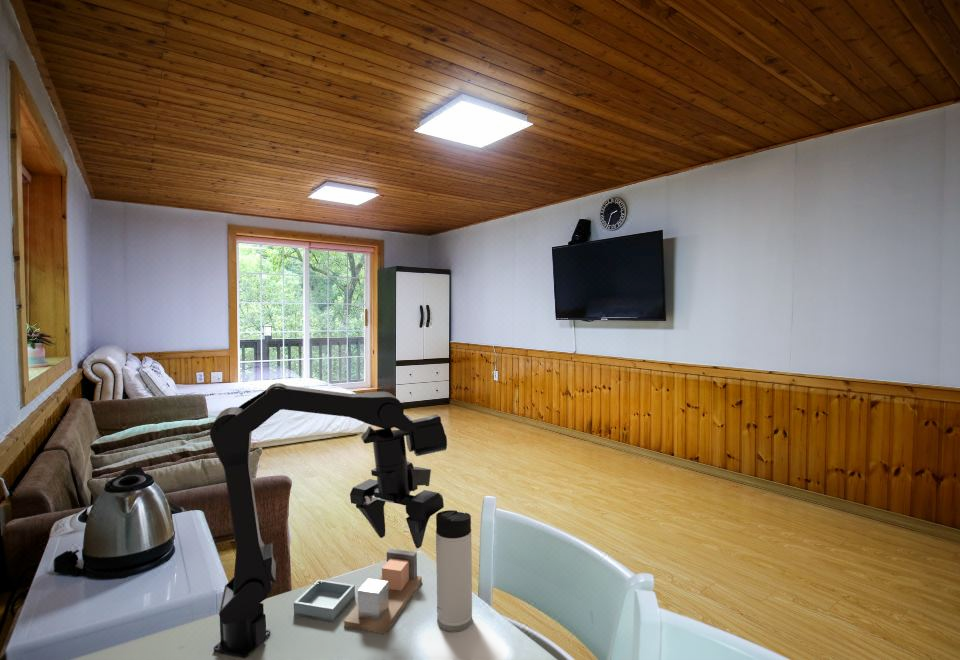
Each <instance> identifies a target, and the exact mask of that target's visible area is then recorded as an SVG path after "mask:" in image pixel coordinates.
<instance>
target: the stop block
mask: <svg viewBox="0 0 960 660" xmlns="http://www.w3.org/2000/svg"><path fill="white" fill-rule="evenodd" d="M381 576H382V580H383V581H388V589H393V590H400V591H401V590H402V589H403V587H404V586H405V585H406V583H407V582H408V581H409V561H408V560H400V559H392V558H390V559H389V561H388V562H387V561H386V563H384V565H383V566H382V568H381Z"/></svg>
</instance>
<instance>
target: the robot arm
mask: <svg viewBox="0 0 960 660" xmlns="http://www.w3.org/2000/svg"><path fill="white" fill-rule="evenodd" d="M282 410H285V411H291V412H292V411H293V412H303V413H311V414H317V415H318V414H319V415H328V416H338V417H346V418H350V419H354V420H357V421H360V422H362V423H364V424H367V425H369V426H368V427H367V429H366V430H365V432H364V433H363V434H362V435H361V436H360V438H361V440H362V443H364V444H369V443H372V446H373V453H374V463H375V465H374V466H375V467H374V468H373V469H371V470H370V471H371V472H370V473H371V476H373V477H376V480H375V479H371V478H369V479H367V480H366V481H363V482H361V483H359V484H357V485H355V486H353V487H352V488H351V491H350V493H349V496H350V497H349V499H350V503H351V504H354V505H355V507H356V509H358V510H359V511H360V512H361V513H362V515H363V516H364V518H365V519H366V520H367V522H368V523H369V524H370V526H371V527H372V528H373V529H374V532H375V533H376V534H377V536H378V537H379V538H380V539H383V538H384V537H385V536H386V519H385V504H386V503H391V504H398V505H402V506H405V513H406V514H407V516H408V517H406V518H405V520H406V523H407V526H408V531H409V532H410V535H411V539H412V541H413V544H414V547H415V549H418V550H419V549H420V548H421V547H422V546H423V541H424V537H425V533H426V529H427V525H428V523H429V519H430V518H431V516H433V515H435V514H437V512H438V513H439V512H440V511H441V510H442V509H444V508H445V505H444V497H443V495H442V494H441V493H440V492H436V491H431V490H427V489H423V490H422V491H421V492H418V493H417V494H415V495H413V494H412V495H411V492H414V491H416V490H418V487H419V486H426V487H430V481H431V473H432V469H430V468H424V467H419V466H414V464H413V463H412V462H410V461H407V460H408V458H407V451H406V450H408V451H409V453H412V452H413V453H414V455H415V456H416V457H419V456H425V455H429V454H430V455H431V454H434V453H439V452H443V451H444V452H445V451H446V450H447V446H448V439H447V434H446V433H445V429H444V426H443V423H442V419H441V416H440V415H439V414H433V415H430V416H429V415H428V416H427V417H424V418H423V417H422V418H418V419H412V418H411V417H410V416H409V415H408V414H404V410H405V409H404V406H403V404H402V403H401V401H400V400H399V399H398V398H397V397H396V396H395V395H394V394H393V393H390V392H388V391H365V392H359V393H345V392H338V391H331V390H324V389H315V388H309V387H300V386H293V385H286V384H285V383H281V382H279V383H277V382H276V383H273V384H271V385H270V386H268V387H267V388H266V389H265V390H263V391H262V392H260V393H258V394H257V395H255V396H253V397H252V398H250V399H248V400H247V401H245V402H244V403H242V404H241V405H239V406H231V407H228V408H225V409H224V410H221V411H220V413H218V415H217V416H216V418H215V420H213V423H212V425H211V426H210V431H209V437H210V441H211V444H212V446H213V450H214V451H215V455H216V456H217V458H218V461H219V462H220V465H221V466H222V468H223V470H224V475H225V476H224V477H225V482H226V483H225V485H226V491H227V496H228V504H229V513H230V516H231V517H230V519H231V525H232V531H233V539H234V544H235V559H234V560H235V561H234V562H235V563H234V570H233V571H234V572H233V573H234V574H233V577H232V578H231V579H230V580H228V582H227V583H226V584H225V586H224V589H223V594H222V597H221V601H220V602H221V604H220V608H219V613H218V616H219V634H220V635H219V637H220V638H219V639H220V641H219V642H218V643H217V644H215V646H214V647H213V652H216V653H220V654H226V655H230V656H235V657H241V658H246V657H248V656H249V655H250V654H251V653H252V652H254V650H255V649H257V648H258V646H260V644H262V643H263V642H264V641H265V640H266V638H267V637H269V636H270V635H271V632H272V631H271V629H268V628H267V619H266V613H264V611H265V610H264V601H266V599H267V598H268V597H269V595H270V593H271V591H272V583H275V582H276V573H277V571H276V569H277V568H276V567H277V562H276V560H275V558H274V555H273V550H274V549H273V548H274V543H273V542H271V543H268V544H265V543H264V541H263V540H262V537H261V533H260V525H259V518H258V510H257V505H256V498H255V489H254V482H253V476H252V468H251V462H250V459H251V458H250V457H251V447H252V432H253V431H255V430H257V429H258V428H259V427H261V426H262V425H263V424H264V423H265V422H267V420H269V419H270V418H271V417H273V416H274V415H275V414H277V413H278V412H279V411H282ZM370 425H371V426H370ZM372 426H374V427H377V429H374V428H373V427H372ZM393 428H395V429H394V430H392V429H393ZM405 439H406V440H405ZM406 445H407V448H406ZM262 602H263V603H262Z"/></svg>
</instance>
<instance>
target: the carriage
mask: <svg viewBox="0 0 960 660" xmlns="http://www.w3.org/2000/svg"><path fill="white" fill-rule="evenodd" d="M357 605H358V617H359V618H365V619H371V620H377V621H379V620H380V619H381V617H382V616H383V615H384V613H385V612H386V610H387V609H388V608H389V600H388V581H383V580H379V579H375V578H367V579H366V580H365V581H364V583H363V584H362V585H361V586H360V587H359V588H358V589H357Z"/></svg>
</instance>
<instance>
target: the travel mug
mask: <svg viewBox="0 0 960 660" xmlns="http://www.w3.org/2000/svg"><path fill="white" fill-rule="evenodd" d="M435 514H436V515H435V526H436V530H435V533H436V535H435V548H436V549H435V551H436V553H435V554H436V613H437V614H436V618H437V619H436V620H437V621H436V622H437V625H438V626H439V627H440V628H441V629H442V630H444V631H447V632H453V633H454V632H456V633H457V632H461V631H464V630H466V629H467V628H469V627H470V626H471V624H472V623H473V583H472V581H473V580H472V579H473V578H472V577H473V575H472V573H473V572H472V571H473V569H472V568H473V567H472V566H473V565H472V564H473V562H472V518H471V517H472V516H471V514H470V513H468V512H462V511H458V510H453V509H452V510H450V509H449V510H443V511H442V510H441V511H438V513H437V512H436V513H435Z"/></svg>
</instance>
